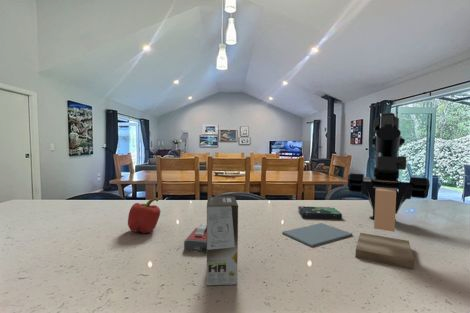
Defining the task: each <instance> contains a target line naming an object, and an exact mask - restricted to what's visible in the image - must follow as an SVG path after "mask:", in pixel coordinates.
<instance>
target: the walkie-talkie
mask: <svg viewBox="0 0 470 313" xmlns="http://www.w3.org/2000/svg"><path fill="white" fill-rule="evenodd" d="M193 229H194V230H193V231H192V232H191V233H189V235H188V237H187V238H186V239H184V241H183V245H184V246H183V250H184V251H185V250H187V251H186V252H193V251H197V253H207V224H200V225H199V226H198V227H196V228H193Z"/></svg>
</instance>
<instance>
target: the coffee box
mask: <svg viewBox="0 0 470 313" xmlns="http://www.w3.org/2000/svg"><path fill="white" fill-rule="evenodd" d="M207 198H208V199H207V202H206V225H207V252H206V285H207V286H227V285H230V286H231V285H232V286H233V285H237V284H238V255H239V254H238V251H239V250H238V249H239V248H238V247H239V245H238V244H239V204H238V201H237V199H236V196H209V197H207Z"/></svg>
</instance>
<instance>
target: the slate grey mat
mask: <svg viewBox="0 0 470 313" xmlns="http://www.w3.org/2000/svg"><path fill="white" fill-rule="evenodd" d="M281 233H282V235H284V236H287V237H289V238H291V239H293V240H296V241H297V242H299V243H302V244H304V245H305V246H308V247H310V248H313V247H316V246H317V247H318V246H320V245H323V244H326V243H327V244H328V243H331V242H334V241H338V240H342V239H345V238H348V237H352V236H353V233H352V232H349V231H347V230H344V229H340V228H336V227H334V226H331V225H328V224H326V223H323V222H321V223H316V224H312V225H308V226H307V225H306V226H302V227H297V228H292V229H288V230H284V231H282V232H281Z"/></svg>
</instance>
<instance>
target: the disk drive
mask: <svg viewBox="0 0 470 313" xmlns="http://www.w3.org/2000/svg"><path fill="white" fill-rule="evenodd" d="M297 207H298V209H297V210H298V212H297V213H299V215H300V217H301V218H302V219H306V220H307V219H313V220H337V221H342V220H343V214H342V212H340V211H339V210H337V209H336V208H335V207H328V206H327V207H326V206H325V207H323V206H303V205H302V206H297Z"/></svg>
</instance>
